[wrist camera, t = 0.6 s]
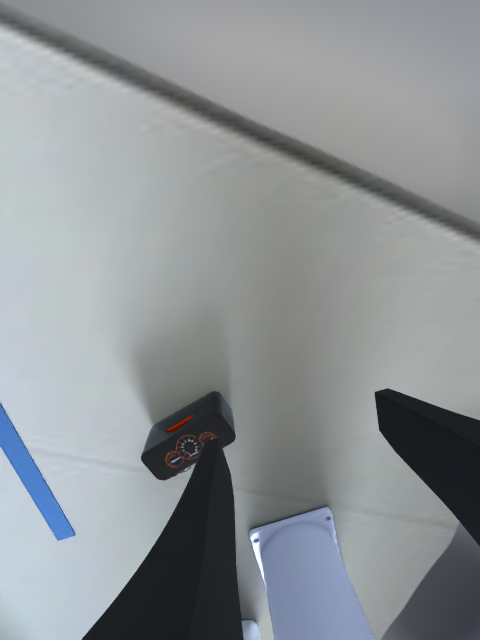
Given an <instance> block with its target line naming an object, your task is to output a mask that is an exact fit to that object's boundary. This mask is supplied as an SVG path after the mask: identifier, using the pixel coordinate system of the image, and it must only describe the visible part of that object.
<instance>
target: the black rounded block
mask: <svg viewBox="0 0 480 640" xmlns="http://www.w3.org/2000/svg"><path fill="white" fill-rule="evenodd" d="M218 437H219V439H220V442H221V446H222V448H224V447H226V446H227V445H229V444H231V443H232V442H233V441H234V440H235V437H236V435H235V427H234V419H233V412H232V410H231V408H230V406H229V405H228V404H227V402H226V401H225V399H224V398H223V396H222V395H221V394H220V393H219V392H217V391H213V392H211V393H209V394H207V395H205V396H204V397H202V398H200V399H199V400H197V401H195V402H193V403H192V404H190V405H188V406H186V407H185V408H183V409H181V410H180V411H178V412H176V413H174V414H173V415H171V416H169V417H167V418H166V419H164V420H162V421H161V422H159V423H157V424H155V425H154V426H153V427H152V428H151V430H150V433H149V436H148V439H147V441H146V444H145V447H144V450H143V453H142V456H141V460H142V462H143V463H144V464H145V466H146V467H147V468H148V469H149V470H150V471H151V472H152V473H153V475H154V476H155V477H156V478H157V479H159V480H167V479H169V478H171V477H173V476H176V475H177V474H179V473H182V472H185V471H187V470H188V469H190V468H191V466H192V465H194V464H196V463H197V460H198V458H199V455H200V452H201V450H202V447H203V444H204V442H205V441H207V440H211V439H214V438H218Z"/></svg>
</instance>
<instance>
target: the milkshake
mask: <svg viewBox="0 0 480 640" xmlns="http://www.w3.org/2000/svg"><path fill="white" fill-rule="evenodd" d="M242 629H243V638H244V640H260V634H259V628H258V624H257V623H255V622H254V621H252V620H242Z"/></svg>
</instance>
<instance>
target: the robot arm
mask: <svg viewBox="0 0 480 640" xmlns="http://www.w3.org/2000/svg"><path fill="white" fill-rule="evenodd" d="M375 399H376V408H377V416H378V424H379V430H380V432H381V433H382V434H383V436H384V437H385V439H386V440H387V441H388V443H389V444H390V445H391V446H392V448H393V449H394V450H395V452H396V453H397V454H398V455H399V456H400V457H401V458H402V459H403V460H404V461H405V462H406V463H407V464H408V466H409V467H410V468H411V469H412V470H413V471H414V472H415V473H416V474H417V475H418V476H419V477H420V478H421V479H422V480H423V481H424V482H425V483H426V484H427V486H428V487H429V488H430V489H431V490H432V491H433V492H434V493H435V494H436V495H437V496H438V497H439V498H440V499H441V500H442V501H443V503H444V504H445V505H446V506H447V507H448V508H449V509H450V510H451V511H452V513H453V514H454V515H455V516H456V518H457V519H458V520H459V521H460V522H461V524H462V525H463V526H464V527H465V529H466V530H467V531H468V532H469V534H470V535H471V536H472V537H473V538H474V540H475V541H476V542H477V543H478V545H479V546H480V420H477V419H474V418H470V417H467V416H464V415H461V414H458V413H455V412H452V411H449V410H446V409H443V408H440V407H437V406H435V405H432V404H429V403H426V402H424V401H421V400H418V399H416V398H413V397H410V396H408V395H405V394H402V393H400V392H397V391H394V390H391V389H388V388H387V389H384V390H380V391H377V392H375ZM249 537H250V541H251V544H252V547H253V550H254V553H255V556H256V559H257V562H258V565H259V568H260V571H261V574H262V578H263V581H264V584H265V587H266V591H267V597H268V603H269V609H270V615H271V622H272V628H273V634H274V640H376V639H375V637H374V635H373V632H372V630H371V628H370V625H369V623H368V621H367V618H366V616H365V613H364V611H363V609H362V606H361V604H360V602H359V599H358V597H357V595H356V592H355V590H354V588H353V585H352V583H351V581H350V578H349V576H348V573H347V571H346V569H345V566H344V564H343V562H342V559H341V556H340V551H339V546H338V541H337V536H336V531H335V526H334V521H333V516H332V512H331V510H330V508H328V507H324V508H321V509H318V510H314V511H311V512H308V513H304V514H301V515H298V516H295V517H291V518H288V519H285V520H281V521H278V522H275V523H271V524H268V525H265V526H261V527H258V528H255V529H252V530H251V531H250V532H249ZM82 640H244V638H243V629H242V620H241V611H240V602H239V592H238V583H237V569H236V543H235V511H234V495H233V487H232V480H231V473H230V470H229V467H228V464H227V461H226V458H225V455H224V452H223V449H222V446H221V442H220V439H219V437H218V438H214V439H211V440H207V441H205V442H204V444H203V447H202V450H201V452H200V455H199V458H198V460H197V463H196V465H195V468H194V470H193V472H192V475H191V477H190V479H189V482H188V484H187V486H186V488H185V490H184V492H183V494H182V496H181V498H180V500H179V502H178V504H177V506H176V508H175V510H174V512H173V514H172V516H171V518H170V519H169V521H168V523H167V525H166V526H165V528H164V530H163V531H162V533H161V535H160V536H159V538H158V540H157V541H156V543H155V544H154V546H153V547H152V549H151V550H150V552H149V554H148V555H147V557H146V558H145V560H144V561H143V562H142V564H141V565H140V567H139V568H138V570H137V571H136V572H135V574H134V575H133V576H132V578H131V579H130V580H129V582H128V583H127V584H126V586H125V587H124V588H123V590H122V591H121V592H120V594H119V595H118V596H117V598H116V599H115V600H114V601H113V603H112V604H111V605H110V606H109V608H108V609H107V610H106V611H105V613H104V614H103V615H102V616H101V617H100V618H99V620H98V621H97V622H96V623H95V624H94V625H93V627H92V628H91V629H90V630H89V631H88V633H87V634H86V635H85V636H84V637H83V638H82Z"/></svg>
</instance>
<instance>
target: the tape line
mask: <svg viewBox="0 0 480 640" xmlns="http://www.w3.org/2000/svg"><path fill="white" fill-rule="evenodd" d="M0 446H1V448H2V450H3V451H4V453H5V454H6V456H7V458H8V459H9V461H10V463H11V464H12V466H13V468H14V469H15V471H16V473H17V474H18V476H19V478H20V479H21V481H22V482H23V484H24V486H25V487H26V489H27V491H28V492H29V494H30V496H31V497H32V499H33V501H34V502H35V504H36V505H37V507H38V509H39V510H40V512H41V514H42V515H43V517H44V519H45V520H46V522H47V524H48V525H49V527H50V529H51V530H52V532H53V533H54V535H55V537H56V538H57V540H62V539H65V538H68V537H72V536H75V535H76V534H75V533H74V531H73V529H72V527H71V526H70V524H69V522H68V520H67V519H66V517H65V515H64V513H63V512H62V510H61V508H60V507H59V505H58V503H57V501H56V500H55V498H54V496H53V494H52V493H51V491H50V489H49V487H48V486H47V484H46V482H45V480H44V479H43V477H42V475H41V474H40V472H39V470H38V468H37V467H36V465H35V463H34V461H33V460H32V458H31V456H30V454H29V453H28V451H27V449H26V448H25V446H24V444H23V442H22V441H21V439H20V437H19V435H18V434H17V432H16V430H15V428H14V427H13V425H12V423H11V422H10V420H9V418H8V416H7V415H6V413H5V411H4V409H3V408H2V406H1V404H0Z"/></svg>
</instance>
